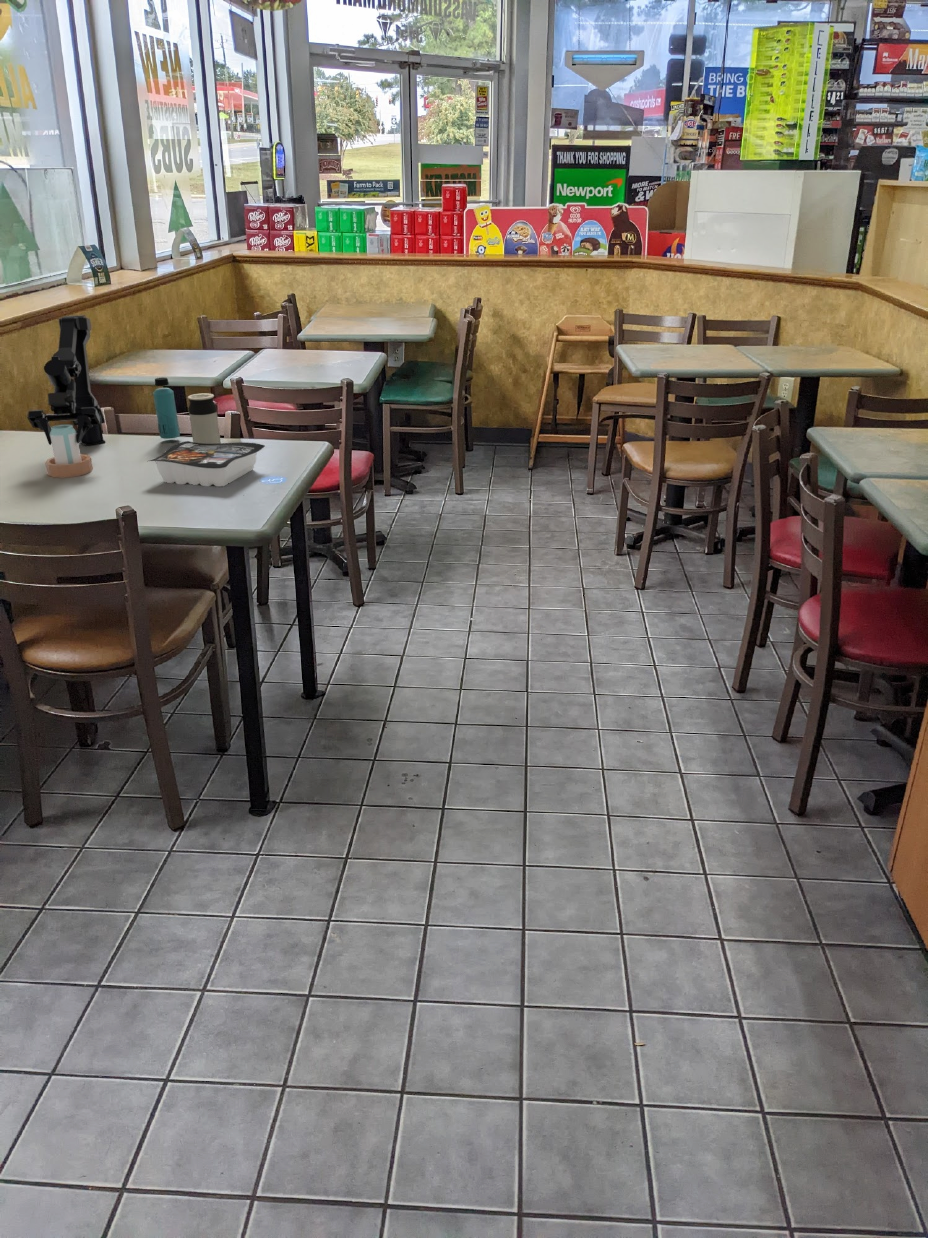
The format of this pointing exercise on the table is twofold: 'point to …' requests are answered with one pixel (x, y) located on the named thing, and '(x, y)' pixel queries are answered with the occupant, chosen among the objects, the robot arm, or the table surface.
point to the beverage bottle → (166, 410)
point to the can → (65, 444)
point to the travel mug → (203, 419)
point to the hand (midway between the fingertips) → (63, 443)
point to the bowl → (69, 467)
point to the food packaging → (207, 462)
